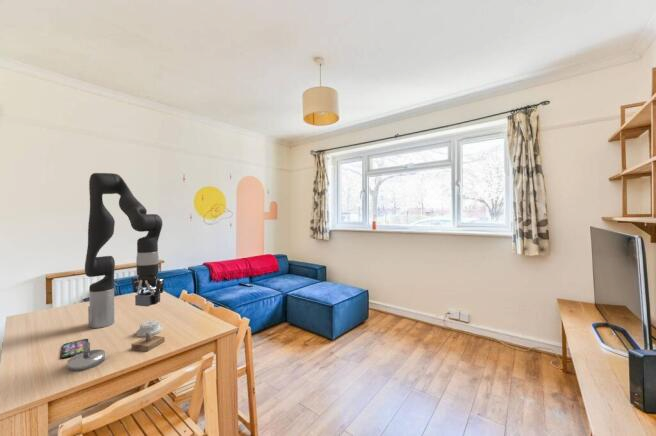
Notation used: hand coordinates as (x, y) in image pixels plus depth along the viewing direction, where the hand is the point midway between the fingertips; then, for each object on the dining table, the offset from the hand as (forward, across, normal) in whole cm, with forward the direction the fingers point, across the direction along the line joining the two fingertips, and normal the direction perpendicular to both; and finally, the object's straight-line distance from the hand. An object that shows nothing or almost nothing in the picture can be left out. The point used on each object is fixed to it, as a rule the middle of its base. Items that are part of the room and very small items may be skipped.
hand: (148, 303), depth 110 cm
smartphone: (+18, -26, -9) cm, 33 cm away
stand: (+17, 0, 0) cm, 17 cm away
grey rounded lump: (+18, -10, +10) cm, 23 cm away
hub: (+17, -10, -16) cm, 26 cm away
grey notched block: (0, 0, 0) cm, 0 cm away
